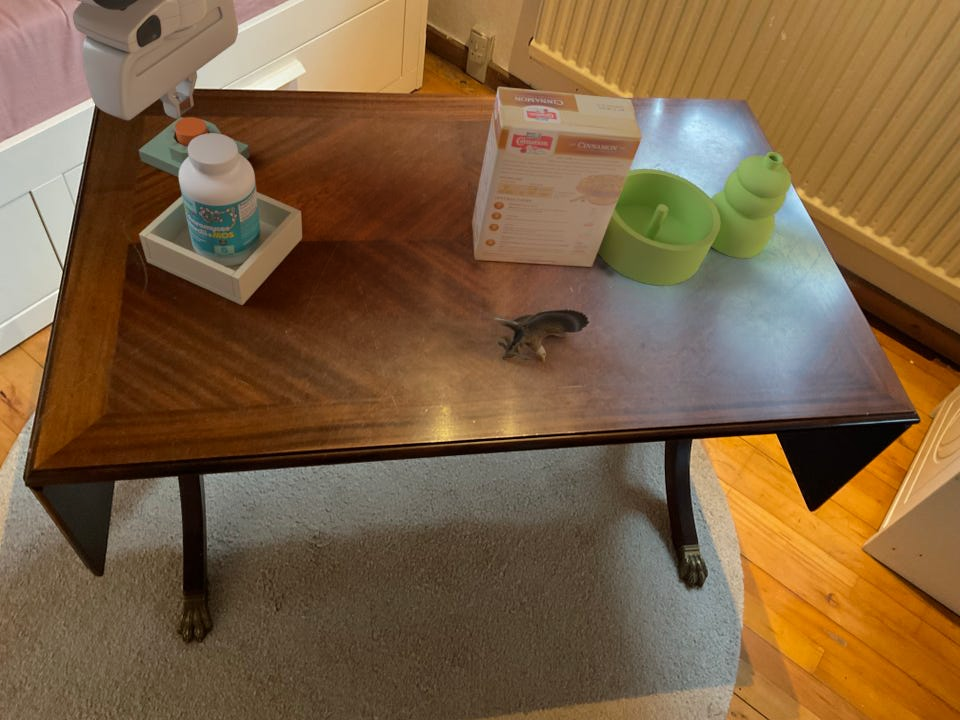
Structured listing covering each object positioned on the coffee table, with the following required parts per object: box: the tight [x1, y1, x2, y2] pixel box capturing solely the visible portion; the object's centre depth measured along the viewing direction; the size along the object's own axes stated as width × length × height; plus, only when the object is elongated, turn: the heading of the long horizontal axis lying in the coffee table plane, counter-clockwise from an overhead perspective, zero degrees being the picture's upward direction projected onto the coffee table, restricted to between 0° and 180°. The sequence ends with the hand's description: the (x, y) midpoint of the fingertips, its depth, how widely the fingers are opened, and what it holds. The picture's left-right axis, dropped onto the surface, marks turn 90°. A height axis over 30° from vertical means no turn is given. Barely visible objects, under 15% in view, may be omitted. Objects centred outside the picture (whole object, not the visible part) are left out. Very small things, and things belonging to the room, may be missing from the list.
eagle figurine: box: [493, 309, 590, 362], centre depth 80 cm, size 8×7×9 cm
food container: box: [597, 151, 792, 286], centre depth 92 cm, size 25×15×13 cm, turn 108°
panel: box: [138, 116, 251, 178], centre depth 91 cm, size 10×8×4 cm
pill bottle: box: [178, 133, 261, 266], centre depth 78 cm, size 8×7×14 cm
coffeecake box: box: [471, 86, 643, 268], centre depth 85 cm, size 15×7×20 cm, turn 93°
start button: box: [175, 116, 208, 146], centre depth 89 cm, size 4×4×2 cm
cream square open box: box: [138, 191, 303, 306], centre depth 82 cm, size 12×12×4 cm
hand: (179, 111), depth 85 cm, fingers closed
